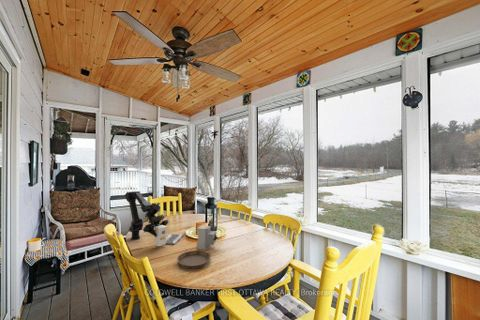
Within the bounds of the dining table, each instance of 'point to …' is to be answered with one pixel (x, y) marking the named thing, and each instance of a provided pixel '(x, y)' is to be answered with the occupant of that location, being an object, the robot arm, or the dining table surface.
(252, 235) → the dining table surface
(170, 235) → the rail plate
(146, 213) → the robot arm
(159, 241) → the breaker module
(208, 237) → the circuit breaker
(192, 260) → the plant saucer
